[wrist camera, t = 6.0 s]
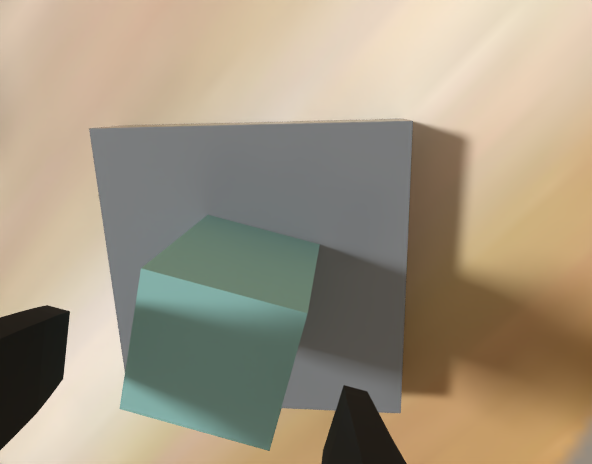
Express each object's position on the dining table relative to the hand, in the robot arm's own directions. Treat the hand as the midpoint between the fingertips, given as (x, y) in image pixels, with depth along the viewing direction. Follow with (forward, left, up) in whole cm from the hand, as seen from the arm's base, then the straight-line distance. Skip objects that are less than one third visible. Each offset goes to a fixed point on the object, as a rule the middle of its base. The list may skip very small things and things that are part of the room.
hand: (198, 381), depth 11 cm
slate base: (0, 0, -10) cm, 10 cm away
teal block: (0, 0, -7) cm, 7 cm away
